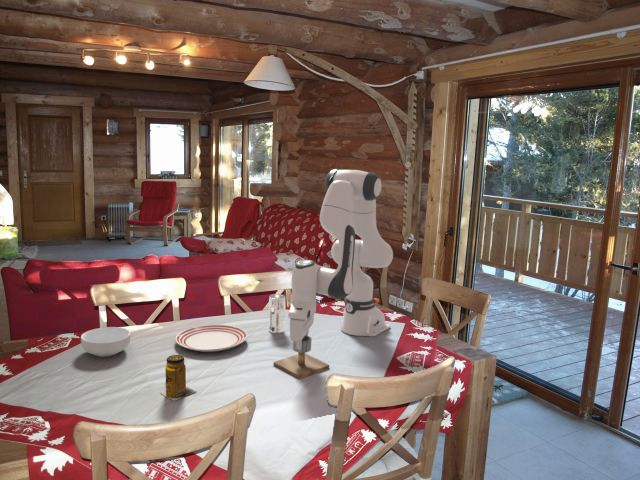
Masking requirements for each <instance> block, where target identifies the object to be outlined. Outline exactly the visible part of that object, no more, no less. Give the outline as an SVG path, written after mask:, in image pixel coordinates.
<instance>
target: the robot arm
mask: <svg viewBox="0 0 640 480" xmlns="http://www.w3.org/2000/svg"><path fill="white" fill-rule="evenodd" d="M382 181H383V180H382V179H381V177H380V176H379V174H377V173H375V172H373V171H369V172H368V171H365V170H359V169H341V168H334V169H331V170H330V171H329V172H328V173H327V175H326V177H325V180H324V187H325V190H326V193H325V196H324V198H323V202H322V205H321V209H320V212H319V222H320V225H321V227H322V229H323V230H324V231H325V232H326V233H328V234H329V235H331V236H333V237H334V239H336V240H335V241H334V243H333V244H332V246H331V250H330V255H331V257H332V260H333V261H334V262H335V263H336V264H337V268H336V269H335V268H330V267H327V266H322V265H319V264H317V263H316V261H315V260H311V259H302V260H298V261H296V262H295V263H294V265H293V268H292V272H291V273H292V274H291V284H290V285H291V291H292V293H291V296H290V305H289V306H290V308H289V310H288V313H287V314H288V316H287V317H288V319H289V339H290V341H291V342H293V341H295V342H296V348H297V349H299V350H301V349H302V339H303V338H304V336H305V335H306V336H309V331H310V329H311V327H312V326H313V324H314V320H315V318H314V317H315V316H314V315H315V314H316V313H317V295H316V294H319V295H324V296H327V297H330V298H333V299H335V300H344V309H343V314H342V315H343V316H342V321H341V322H340V325H341V326H340V331H341V332H343V333H345V334H347V335H351V336H357V337H362V336H363V337H365V336H366V337H376V336H378V335H380V334H382V333H383V332H385V331H387V330H389V329H390V328H391V325H390V324H389V323H388V322H386V317H385V314H384V313H383V312H382V311H381V310H380V309H379V308H378V307H376V305H375V303H376V304H379V302H380V299H379V298H376V297H373V293H374V281H373V279H372V277H371V276H370V275H368V274H366V273H364V271H363V270H362V268H371V269H379V268H380V269H383V268H387V267H389V266H390V264H391V263H392V261H393V258H394V251H393V248H392V247H391V245H390V244H389V243H388V242H386V241H385V240H384V238H382V236H381V234H380V233H379V230H378V227H377V201H376V200H377V198H378V197H380V195H381V191H382V187H383V185H382V184H383V183H382ZM356 235H357V236H358V237H359V238H360V239H356ZM361 267H362V268H361Z"/></svg>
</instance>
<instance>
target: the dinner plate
mask: <svg viewBox="0 0 640 480" xmlns="http://www.w3.org/2000/svg"><path fill="white" fill-rule="evenodd" d="M247 339H248V332H247V331H246V330H244V329H243V328H241V327H238V326H233V325H231V324H205V325H204V324H203V325H198V326H197V325H196V326H194V327H190V328H186V329H185V330H182V331H180V332H179V333H178V334H177V335H176V336H175V338H174V341H175V342H176V344H177V345H179V346H180V347H183V348H185V349H188V350H192V351H197V352H203V353H215V352H221V351H226V350H229V349H232V348H235V347H237V346H239V345H241V344H243V343H245V341H246V340H247Z"/></svg>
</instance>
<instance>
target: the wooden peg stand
mask: <svg viewBox="0 0 640 480" xmlns="http://www.w3.org/2000/svg"><path fill="white" fill-rule="evenodd" d="M297 353H298V354H297ZM297 353H296V354H294V355H291V356H287V357H284V358H281V359H278V360H275V361H273V363H272V364H273V366H274V367H277V368H278V369H280V370H282V371H284V372H285V373H287V374H289V375H290V376H293V377H295V378H297V379H298V380H300V379H303V378H306V377H308V376H312V375H313V374H316V373H319V372H322V371H324V370H325V371H326V370H327V369H330V364H328V363H326V362H324V361H322V360H319V358H315V357H314V356H311V355H310V354H308V353H299V352H297Z"/></svg>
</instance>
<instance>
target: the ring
mask: <svg viewBox="0 0 640 480" xmlns="http://www.w3.org/2000/svg"><path fill="white" fill-rule="evenodd" d="M312 342H313V341H312V337H311V336H309V335H308V336H306V335H305V336H304V338H303V339H302V349H301V350H299V349H297V348H296V342H295V341H292V350H293V351H294V352H296V353H298V352H299V353H305V354H307V353H309V352H311V351H312Z"/></svg>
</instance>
